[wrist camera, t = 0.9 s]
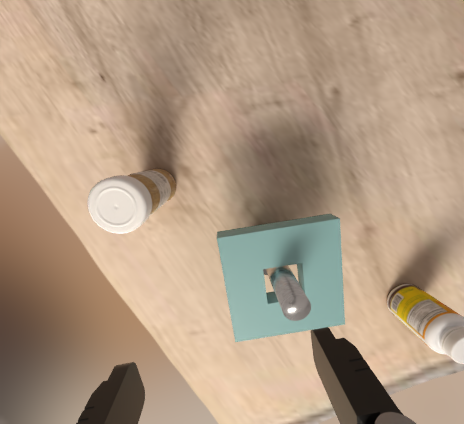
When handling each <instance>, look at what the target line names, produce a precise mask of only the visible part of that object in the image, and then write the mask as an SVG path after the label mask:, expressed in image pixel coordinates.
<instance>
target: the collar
mask: <svg viewBox="0 0 464 424" xmlns="http://www.w3.org/2000/svg"><path fill="white" fill-rule="evenodd" d="M217 241H218V247H219V252H220V258H221V264H222V269H223V275H224V280H225V286H226V292H227V297H228V303H229V308H230V314H231V320H232V325H233V331H234V337H235V342H239V341H246V340H252V339H258V338H264V337H270V336H276V335H282V334H288V333H295V332H301V331H307V330H313V329H319V328H325V327H331V326H337V325H343V324H345V317H344V296H343V275H342V254H341V234H340V218H338V217H336V216H334V215H332V214H326V215H319V216H313V217H307V218H301V219H294V220H288V221H282V222H276V223H270V224H263V225H257V226H251V227H245V228H238V229H232V230H226V231H220V232H217ZM293 264H297V268H298V278H299V285H300V286H301V288H302V290H303V291H304V293H305V294H306V296H307V298H308V299H309V301H310V303H311V311H310V313H309V314H308V316H307V317H305V318H304V319H302V320H299V321H292V320H289V319H287V318H286V317H285V316H284V314H283V312H282V309H281V307H280V304H279V301H278V299H277V296H276V294H275V292H269V293H266V288H265V280H264V273H263V269H268V268H274V267H280V266H286V265H293Z"/></svg>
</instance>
